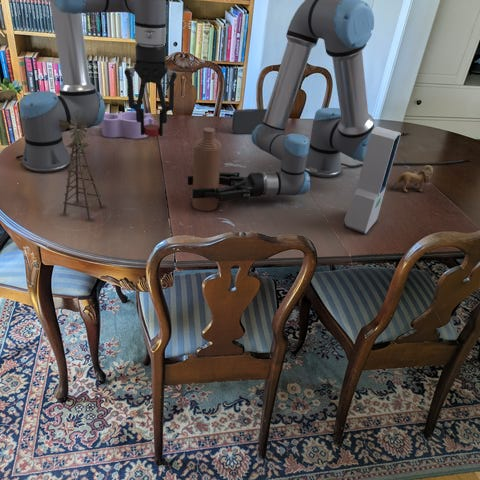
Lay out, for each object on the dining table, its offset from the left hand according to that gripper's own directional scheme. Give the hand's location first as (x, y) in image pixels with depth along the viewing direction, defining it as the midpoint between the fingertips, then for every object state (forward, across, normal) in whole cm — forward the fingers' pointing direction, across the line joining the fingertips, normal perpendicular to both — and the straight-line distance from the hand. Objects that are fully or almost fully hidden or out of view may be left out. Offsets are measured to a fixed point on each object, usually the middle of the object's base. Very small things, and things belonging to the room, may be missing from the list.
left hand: (151, 133), depth 130 cm
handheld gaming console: (+23, +42, +69) cm, 84 cm away
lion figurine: (+23, +91, +18) cm, 96 cm away
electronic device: (+23, +64, -8) cm, 68 cm away
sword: (+23, +104, +69) cm, 127 cm away
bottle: (+23, +16, +2) cm, 28 cm away
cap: (-2, 0, 0) cm, 2 cm away
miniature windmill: (+23, -20, -4) cm, 31 cm away
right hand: (+17, +11, +1) cm, 20 cm away
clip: (+23, -13, +60) cm, 66 cm away
